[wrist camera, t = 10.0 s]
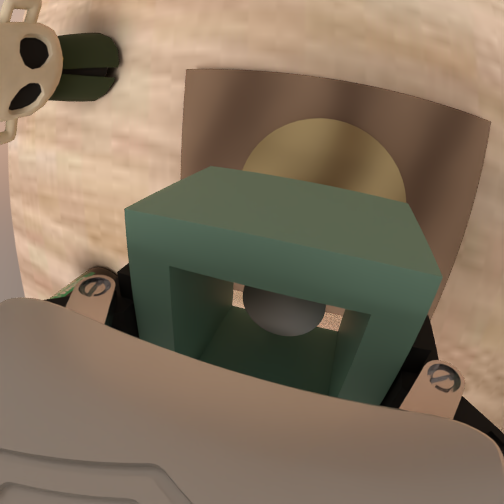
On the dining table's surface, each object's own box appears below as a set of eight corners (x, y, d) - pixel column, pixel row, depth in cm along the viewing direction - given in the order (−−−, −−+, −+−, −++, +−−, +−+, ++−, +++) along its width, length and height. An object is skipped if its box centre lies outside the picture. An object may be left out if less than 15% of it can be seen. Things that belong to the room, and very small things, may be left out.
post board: (482, 120, 16) (604, 149, 5) (422, 321, 23) (439, 459, 12) (196, 70, 20) (54, 60, 9) (189, 267, 27) (94, 365, 16)
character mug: (111, 134, 24) (-21, 173, 13) (61, 116, 25) (-55, 146, 14) (145, 12, 19) (8, -13, 8) (87, 9, 20) (-34, 0, 8)
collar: (408, 203, 10) (442, 277, 5) (357, 357, 13) (346, 455, 9) (210, 165, 11) (124, 208, 7) (206, 319, 15) (151, 397, 10)
